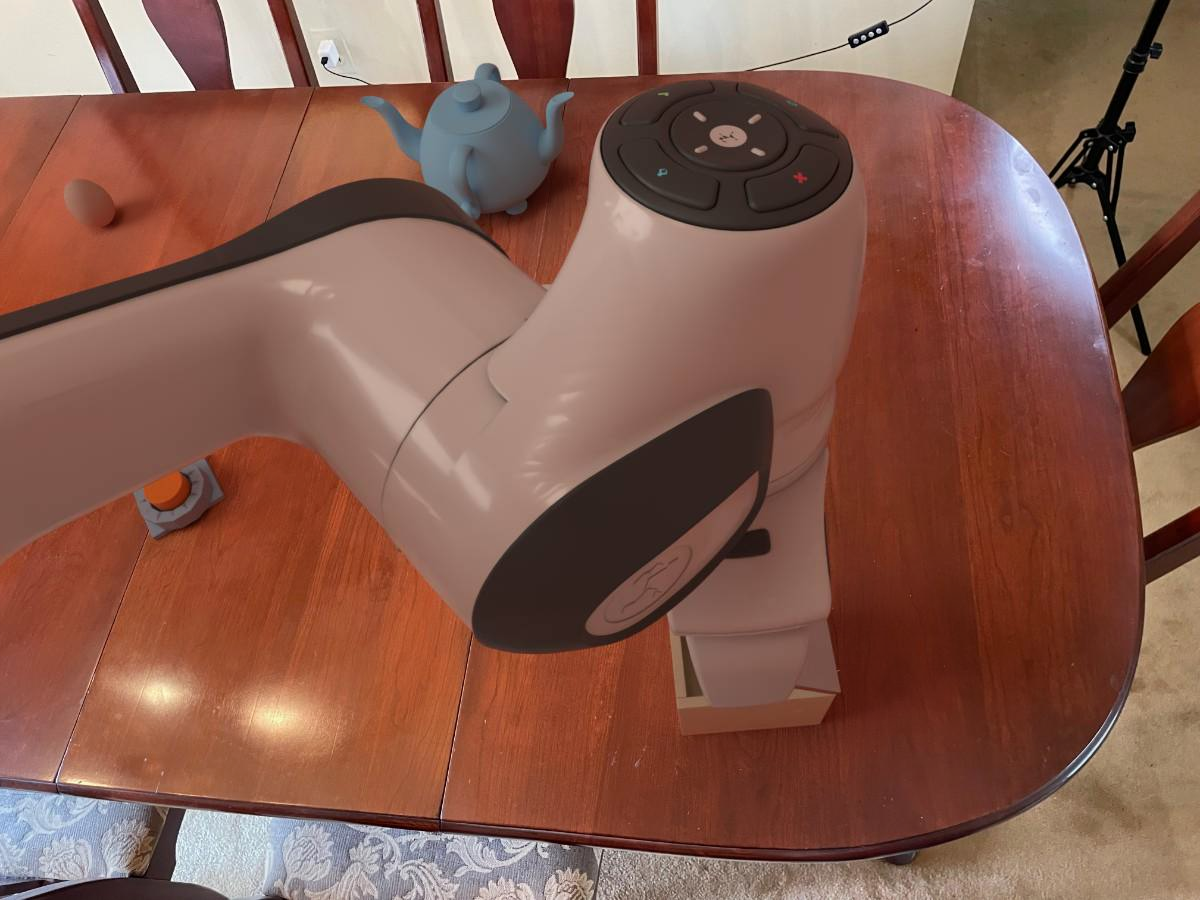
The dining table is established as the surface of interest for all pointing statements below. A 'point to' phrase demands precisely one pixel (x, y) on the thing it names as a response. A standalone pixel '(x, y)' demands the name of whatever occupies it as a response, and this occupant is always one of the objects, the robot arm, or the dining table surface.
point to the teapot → (481, 143)
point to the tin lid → (819, 663)
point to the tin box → (707, 719)
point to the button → (168, 491)
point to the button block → (199, 500)
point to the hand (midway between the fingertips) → (719, 549)
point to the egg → (89, 203)
